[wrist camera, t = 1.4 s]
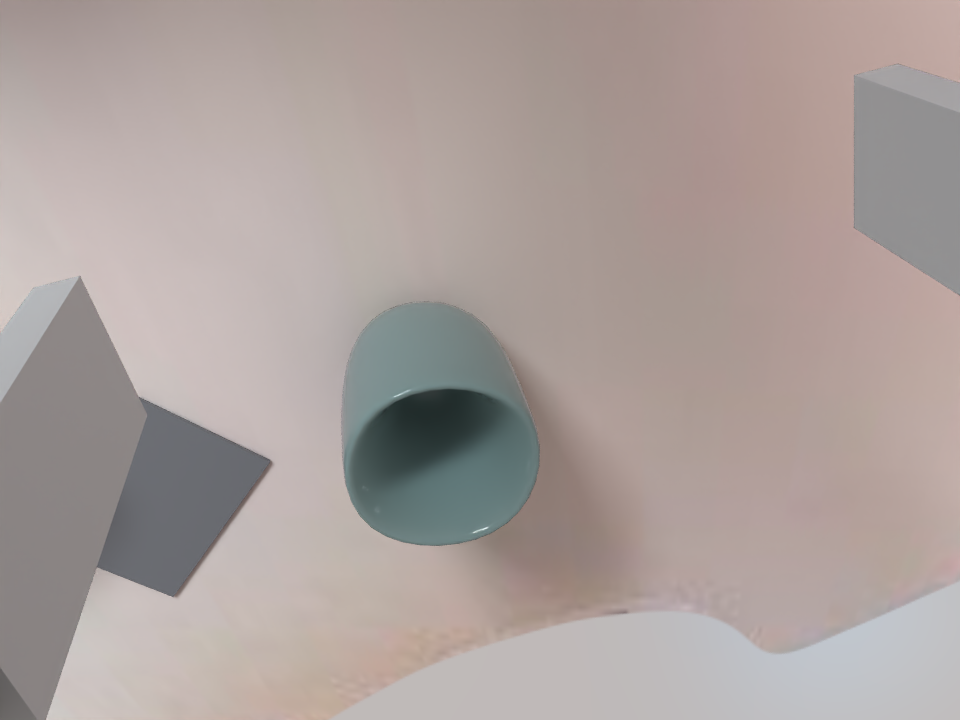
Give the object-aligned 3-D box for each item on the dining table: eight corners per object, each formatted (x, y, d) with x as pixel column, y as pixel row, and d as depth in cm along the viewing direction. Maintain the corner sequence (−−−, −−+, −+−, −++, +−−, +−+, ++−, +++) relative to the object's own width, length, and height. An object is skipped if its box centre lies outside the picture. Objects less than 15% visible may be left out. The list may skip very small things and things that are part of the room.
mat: (45, 543, 44) (44, 546, 44) (138, 397, 41) (137, 399, 41) (173, 594, 47) (173, 597, 47) (270, 460, 44) (269, 462, 44)
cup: (339, 276, 40) (342, 382, 31) (506, 279, 42) (553, 380, 33) (339, 422, 44) (342, 553, 35) (493, 420, 45) (532, 545, 36)
